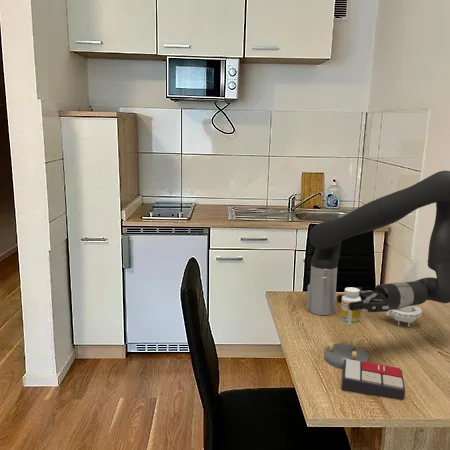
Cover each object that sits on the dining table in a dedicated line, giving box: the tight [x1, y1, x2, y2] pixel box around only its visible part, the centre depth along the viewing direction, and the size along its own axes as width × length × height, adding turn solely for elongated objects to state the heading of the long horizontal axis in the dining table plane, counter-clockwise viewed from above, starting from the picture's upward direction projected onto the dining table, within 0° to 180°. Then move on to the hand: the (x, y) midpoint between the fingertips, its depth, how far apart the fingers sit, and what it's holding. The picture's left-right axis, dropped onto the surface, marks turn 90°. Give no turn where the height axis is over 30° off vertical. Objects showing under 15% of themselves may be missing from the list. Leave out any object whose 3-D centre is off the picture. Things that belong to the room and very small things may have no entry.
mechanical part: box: [384, 305, 423, 327], centre depth 162 cm, size 11×12×12 cm
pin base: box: [324, 339, 369, 370], centre depth 136 cm, size 12×12×4 cm
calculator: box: [341, 359, 406, 401], centre depth 123 cm, size 11×4×15 cm
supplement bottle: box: [339, 286, 362, 326], centre depth 133 cm, size 5×5×10 cm
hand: (343, 302), depth 132 cm, fingers closed on supplement bottle, 5 cm apart
